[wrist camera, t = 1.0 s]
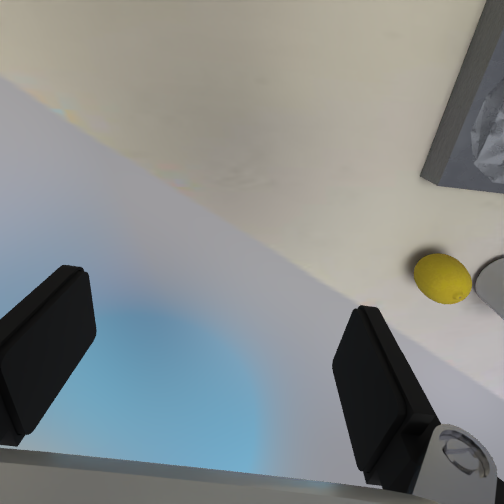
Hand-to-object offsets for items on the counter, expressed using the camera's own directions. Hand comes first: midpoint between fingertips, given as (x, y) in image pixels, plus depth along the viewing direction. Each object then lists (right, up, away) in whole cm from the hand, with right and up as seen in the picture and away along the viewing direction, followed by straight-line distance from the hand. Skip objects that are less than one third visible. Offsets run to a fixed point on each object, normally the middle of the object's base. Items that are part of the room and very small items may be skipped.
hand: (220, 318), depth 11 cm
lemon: (+25, +1, +30) cm, 39 cm away
